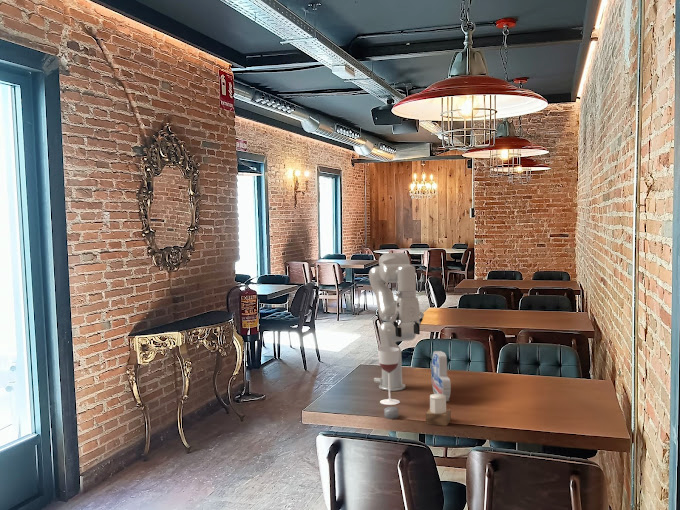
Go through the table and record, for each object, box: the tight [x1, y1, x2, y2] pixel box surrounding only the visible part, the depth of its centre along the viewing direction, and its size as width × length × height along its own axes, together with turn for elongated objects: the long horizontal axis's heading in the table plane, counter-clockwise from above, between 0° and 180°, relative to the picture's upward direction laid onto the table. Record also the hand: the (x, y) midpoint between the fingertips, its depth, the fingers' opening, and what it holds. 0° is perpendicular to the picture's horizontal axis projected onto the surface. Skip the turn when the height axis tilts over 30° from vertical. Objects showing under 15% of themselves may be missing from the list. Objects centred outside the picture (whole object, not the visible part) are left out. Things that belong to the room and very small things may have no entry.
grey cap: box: [383, 406, 400, 420], centre depth 230 cm, size 6×6×3 cm
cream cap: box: [429, 393, 447, 414], centre depth 222 cm, size 6×6×6 cm
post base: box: [425, 408, 452, 426], centre depth 222 cm, size 8×8×8 cm
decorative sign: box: [430, 350, 452, 402], centre depth 256 cm, size 24×3×20 cm, turn 3°
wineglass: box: [377, 347, 401, 406], centre depth 250 cm, size 9×10×23 cm
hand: (407, 335), depth 241 cm, fingers open, 9 cm apart
